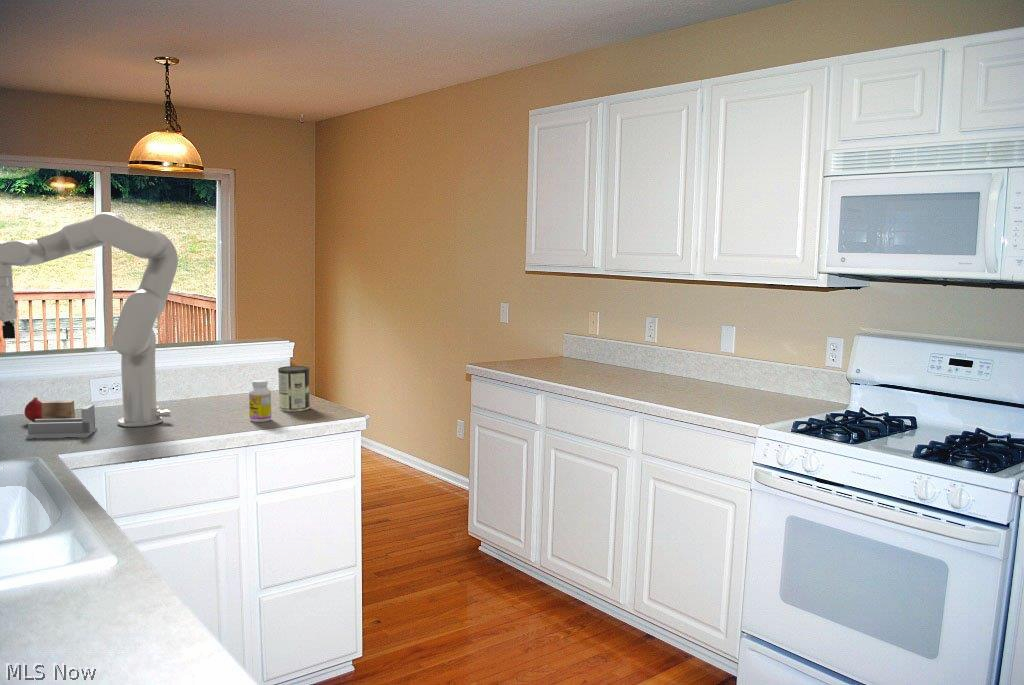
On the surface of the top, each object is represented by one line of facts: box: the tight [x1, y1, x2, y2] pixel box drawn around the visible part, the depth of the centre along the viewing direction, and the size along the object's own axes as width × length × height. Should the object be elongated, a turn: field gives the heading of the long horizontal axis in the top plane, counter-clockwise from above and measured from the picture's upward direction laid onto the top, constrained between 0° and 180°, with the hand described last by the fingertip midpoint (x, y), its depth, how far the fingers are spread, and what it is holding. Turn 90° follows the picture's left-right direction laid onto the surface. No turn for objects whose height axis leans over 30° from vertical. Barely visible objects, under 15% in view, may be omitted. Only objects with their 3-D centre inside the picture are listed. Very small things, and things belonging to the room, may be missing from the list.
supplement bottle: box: [248, 379, 272, 423], centre depth 255 cm, size 7×7×13 cm
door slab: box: [41, 399, 76, 419], centre depth 241 cm, size 8×3×8 cm, turn 100°
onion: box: [23, 396, 42, 423], centre depth 246 cm, size 6×6×8 cm
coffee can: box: [277, 365, 311, 413], centre depth 273 cm, size 10×10×14 cm
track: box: [25, 404, 98, 440], centre depth 233 cm, size 16×9×8 cm, turn 100°
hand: (1, 340), depth 238 cm, fingers open, 9 cm apart
